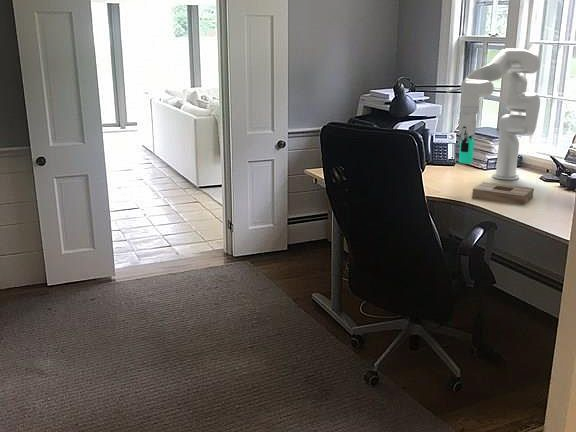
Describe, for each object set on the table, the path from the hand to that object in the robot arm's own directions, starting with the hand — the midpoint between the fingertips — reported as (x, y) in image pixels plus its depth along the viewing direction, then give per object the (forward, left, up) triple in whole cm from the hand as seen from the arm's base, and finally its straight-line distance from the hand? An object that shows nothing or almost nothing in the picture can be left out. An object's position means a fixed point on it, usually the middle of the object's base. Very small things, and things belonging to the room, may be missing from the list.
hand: (466, 150), depth 275 cm
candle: (0, 0, -6) cm, 6 cm away
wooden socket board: (0, +18, -19) cm, 26 cm away
